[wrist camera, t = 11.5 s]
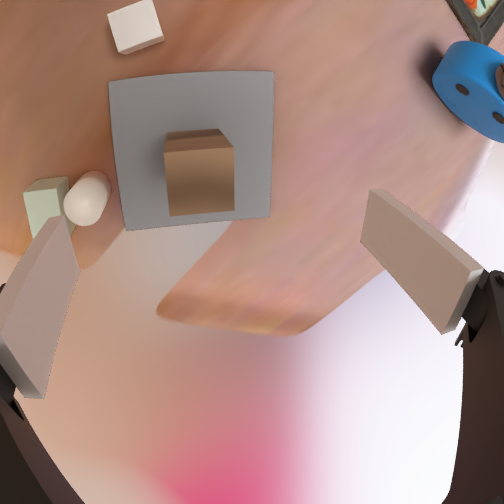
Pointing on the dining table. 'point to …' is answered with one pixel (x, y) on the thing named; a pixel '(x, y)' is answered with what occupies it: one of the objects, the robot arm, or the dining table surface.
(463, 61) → the alarm clock
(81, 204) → the cream cylinder
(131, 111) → the grey mat
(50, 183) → the sage block
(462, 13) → the painting
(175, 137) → the walnut block
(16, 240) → the dining table surface
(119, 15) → the white cube
